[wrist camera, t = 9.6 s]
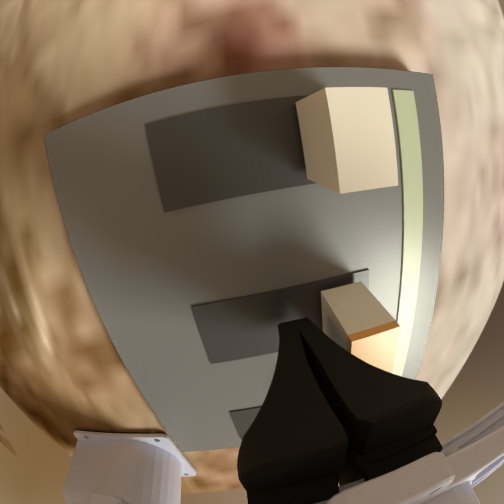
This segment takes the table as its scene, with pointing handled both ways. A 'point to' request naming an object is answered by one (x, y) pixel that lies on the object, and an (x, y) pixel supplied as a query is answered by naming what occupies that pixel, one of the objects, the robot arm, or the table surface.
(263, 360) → the breaker panel
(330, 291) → the handle
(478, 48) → the table surface
